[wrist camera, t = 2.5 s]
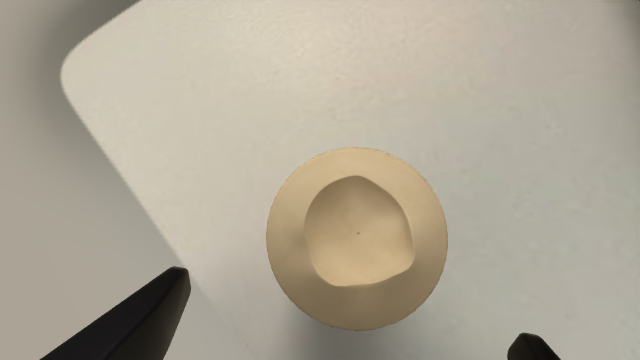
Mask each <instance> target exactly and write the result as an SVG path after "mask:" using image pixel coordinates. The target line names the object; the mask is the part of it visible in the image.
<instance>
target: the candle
mask: <svg viewBox="0 0 640 360" xmlns="http://www.w3.org/2000/svg"><path fill="white" fill-rule="evenodd" d="M266 240H267V251H268V257H269V261H270V264H271V268H272V270H273V273H274V275H275V277H276V280H277V281H278V283H279V285H280V286H281V288H282V290H283V291H284V292H285V294H286V295H287V296H288V297H289V299H290V300H291V301H292V302H293V303H294V304H295V305H296V306H297V307H298V308H299V309H301V310H302V311H303V312H305V313H306V314H307V315H309V316H310V317H312V318H314V319H316V320H318V321H319V322H322V323H324V324H327V325H329V326H332V327H336V328H341V329H345V330H356V331H358V330H372V329H377V328H382V327H385V326H388V325H391V324H394V323H396V322H398V321H400V320H402V319H404V318H405V317H407V316H408V315H410V314H411V313H412V312H414V311H415V310H416V309H417V308H418V307H419V306H420V305H422V304H423V303H424V301H425V300H426V299H427V298H428V297H429V295H430V294H431V293H432V291H433V290H434V288H435V286H436V285H437V283H438V281H439V278H440V276H441V274H442V272H443V268H444V264H445V261H446V255H447V248H448V234H447V226H446V221H445V217H444V213H443V210H442V208H441V205H440V203H439V200H438V198H437V197H436V195H435V193H434V191H433V190H432V188H431V187H430V186H429V184H428V183H427V181H426V180H425V179H424V178H423V177H422V176H421V175H420V174H419V173H418V172H417V171H416V170H415V169H413V168H412V167H411V166H410V165H408V164H407V163H405V162H404V161H402V160H401V159H399V158H397V157H395V156H393V155H390V154H388V153H385V152H382V151H379V150H374V149H369V148H359V147H352V148H341V149H336V150H332V151H329V152H326V153H323V154H320V155H318V156H316V157H314V158H312V159H310V160H309V161H307V162H306V163H304V164H303V165H301V166H300V167H299V168H298V169H297V170H295V171H294V172H293V173H292V174H291V176H290V177H289V178H288V179H287V180H286V181H285V183H284V184H283V185H282V187H281V188H280V190H279V192H278V194H277V195H276V197H275V199H274V202H273V204H272V207H271V210H270V214H269V218H268V223H267V232H266Z"/></svg>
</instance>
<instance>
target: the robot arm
mask: <svg viewBox="0 0 640 360" xmlns="http://www.w3.org/2000/svg"><path fill="white" fill-rule="evenodd" d="M190 292H191V285H190V279H189V273H188V270H187V269H186V268H181V267H175V266H173V267H171V268H169V269H167V270H166V271H165V272H163V273H162V274H160V275H159V276H158V277H156V278H155V279H153V280H152V281H150V282H149V283H148V284H146V285H145V286H143V287H142V288H141V289H139V290H138V291H136V292H135V293H134V294H132V295H131V296H129V297H128V298H127V299H125V300H124V301H122V302H121V303H120V304H118V305H116V306H115V307H114V308H112V309H111V310H110V311H108V312H107V313H105V314H104V315H102V316H101V317H100V318H98V319H97V320H95V321H94V322H92V323H91V324H90V325H88V326H87V327H85V328H84V329H83V330H81V331H80V332H78V333H77V334H75V335H74V336H73V337H71V338H70V339H68V340H67V341H66V342H64V343H63V344H61V345H60V346H58V347H57V348H56V349H54V350H53V351H51V352H50V353H48V354H47V355H46V356H44V357H43V358H41V359H40V360H163V358H164V356H165V354H166V352H167V350H168V348H169V346H170V343H171V341H172V338H173V336H174V333H175V331H176V328H177V326H178V324H179V321H180V319H181V316H182V313H183V311H184V308H185V306H186V303H187V301H188V298H189V296H190ZM507 359H508V360H561V359H560V358H559V357H558V356H557V355H556V354H555V353H554V351H553V350H552V349H551V348H550V347H549V346H548V345H547V344H546V342H545V341H544V340H543V339H542V338H541V337H539V336H538V335H534V334H529V333H521V334H519V336H518V337H517V338H516V340H515V341H514V342H513V344H512V345H511V346H510V348H509V350H508V354H507Z"/></svg>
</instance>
